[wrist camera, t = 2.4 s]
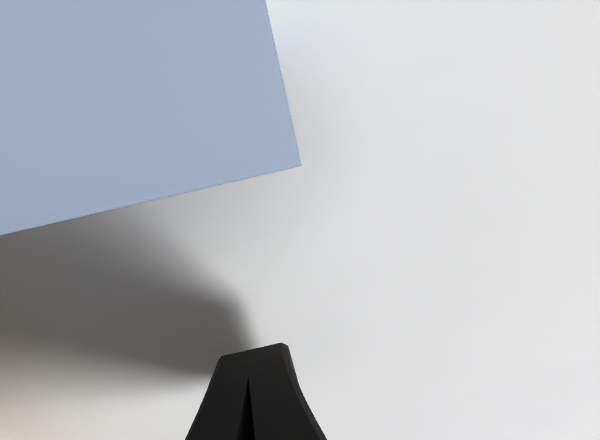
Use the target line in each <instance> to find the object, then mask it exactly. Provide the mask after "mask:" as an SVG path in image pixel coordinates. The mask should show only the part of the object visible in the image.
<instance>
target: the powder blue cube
mask: <svg viewBox="0 0 600 440" xmlns="http://www.w3.org/2000/svg"><path fill="white" fill-rule="evenodd" d="M299 166H301V161H300V156H299V152H298V147H297V143H296V138H295V134H294V129H293V125H292V120H291V115H290V111H289V106H288V102H287V97H286V93H285V88H284V84H283V79H282V74H281V70H280V65H279V61H278V56H277V52H276V47H275V43H274V38H273V33H272V29H271V24H270V20H269V15H268V11H267V6H266V2H265V0H0V235H4V234H8V233H13V232H17V231H21V230H26V229H30V228H34V227H39V226H43V225H47V224H52V223H56V222H60V221H65V220H69V219H73V218H78V217H82V216H86V215H91V214H95V213H99V212H104V211H108V210H112V209H117V208H121V207H125V206H130V205H134V204H138V203H143V202H147V201H151V200H156V199H160V198H164V197H169V196H173V195H177V194H182V193H186V192H190V191H195V190H199V189H203V188H208V187H212V186H216V185H221V184H225V183H229V182H234V181H238V180H243V179H247V178H251V177H256V176H260V175H264V174H269V173H273V172H277V171H282V170H286V169H290V168H295V167H299Z"/></svg>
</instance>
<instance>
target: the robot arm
mask: <svg viewBox="0 0 600 440" xmlns="http://www.w3.org/2000/svg"><path fill="white" fill-rule="evenodd" d="M185 440H327V439H326V437H325V435H324V433H323V432H322V430H321V428H320V426H319V425H318V423H317V421H316V419H315V417H314V415H313V413H312V411H311V409H310V408H309V406H308V404H307V402H306V400H305V398H304V396H303V393H302V391H301V389H300V387H299V383H298V380H297V376H296V373H295V369H294V365H293V362H292V358H291V355H290V351H289V348H288V346H287V345H285V344H283V343H278V344H273V345H269V346H265V347H260V348H256V349H251V350H247V351H243V352H238V353H234V354H229V355H225V356H221V358H220V359H219V361H218V362H217V365H216V368H215V370H214V373H213V376H212V378H211V381H210V383H209V386H208V389H207V391H206V393H205V396H204V398H203V401H202V403H201V405H200V408H199V410H198V412H197V415H196V417H195V419H194V421H193V423H192V426H191V428H190V430H189V432H188V434H187V436H186V439H185Z"/></svg>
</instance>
